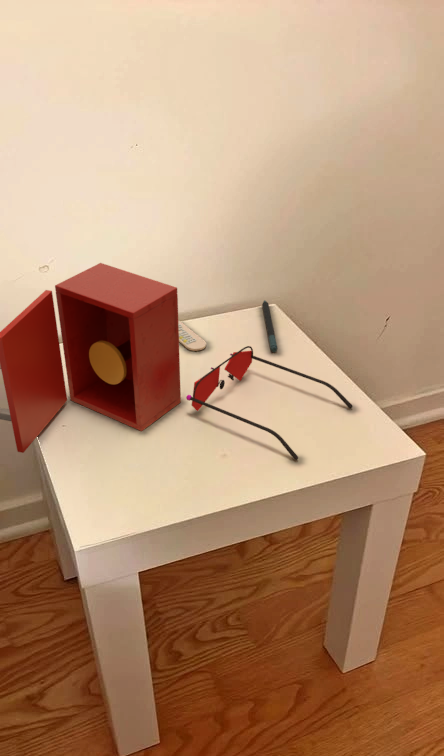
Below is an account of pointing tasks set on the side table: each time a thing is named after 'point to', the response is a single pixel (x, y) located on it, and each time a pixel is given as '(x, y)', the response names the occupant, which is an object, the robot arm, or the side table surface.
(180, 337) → the beige remote control
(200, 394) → the glasses
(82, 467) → the side table surface
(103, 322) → the cabinet
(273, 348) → the pen
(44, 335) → the door
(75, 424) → the side table surface
